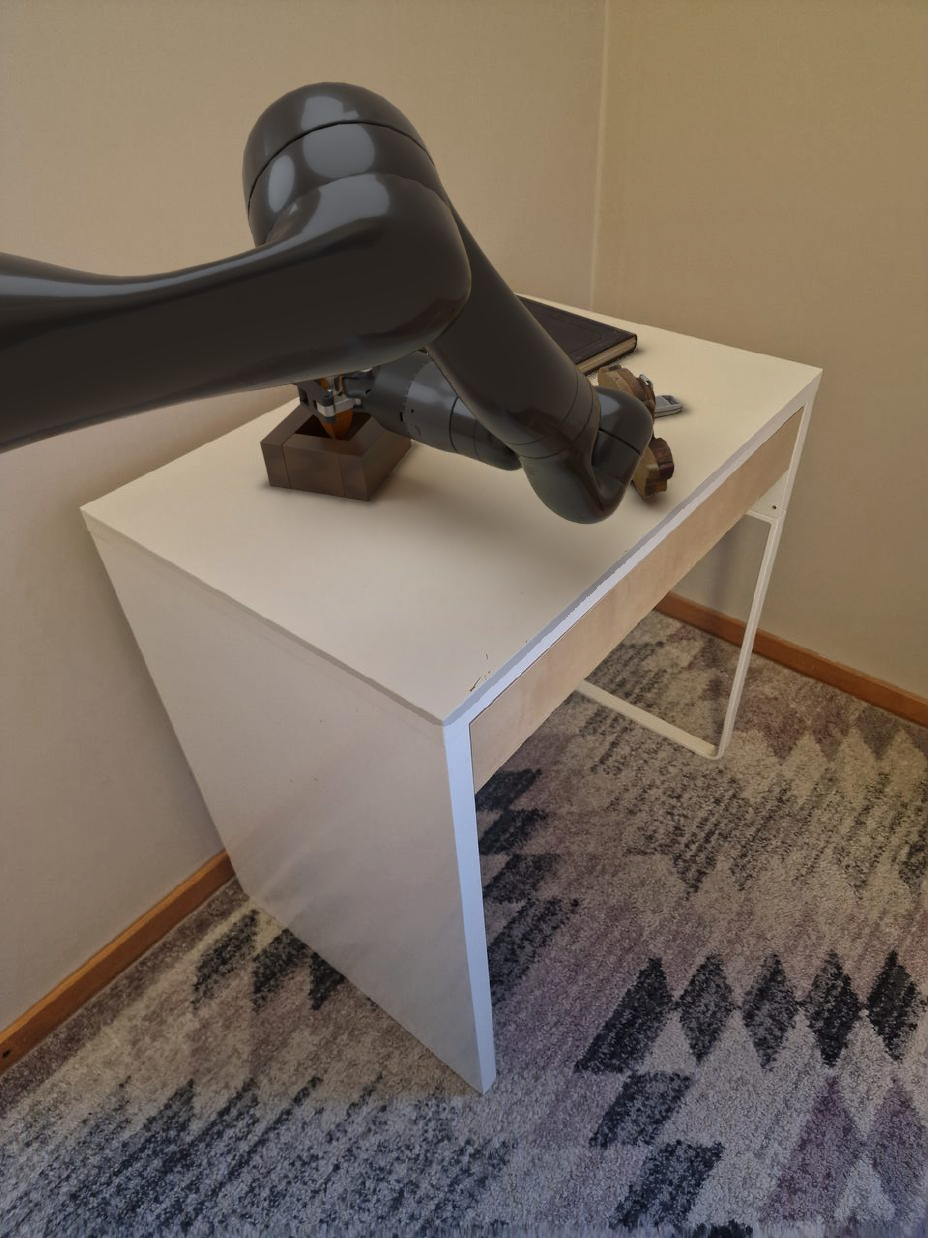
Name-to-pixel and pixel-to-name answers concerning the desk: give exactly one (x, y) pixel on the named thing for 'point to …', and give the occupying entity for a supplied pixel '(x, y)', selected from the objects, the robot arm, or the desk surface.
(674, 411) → the strap clip
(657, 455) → the wooden carving
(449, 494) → the desk surface
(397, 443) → the holder
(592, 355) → the hardcover book
